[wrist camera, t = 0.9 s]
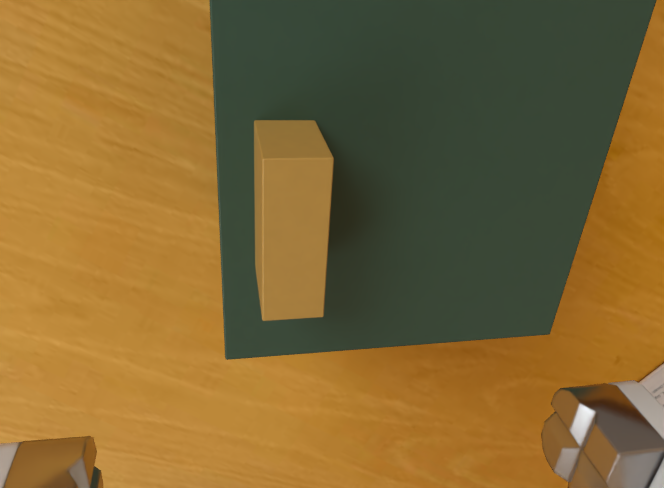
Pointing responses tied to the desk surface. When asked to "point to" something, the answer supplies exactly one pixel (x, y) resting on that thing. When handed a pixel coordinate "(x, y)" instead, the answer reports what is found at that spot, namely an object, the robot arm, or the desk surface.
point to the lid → (408, 164)
